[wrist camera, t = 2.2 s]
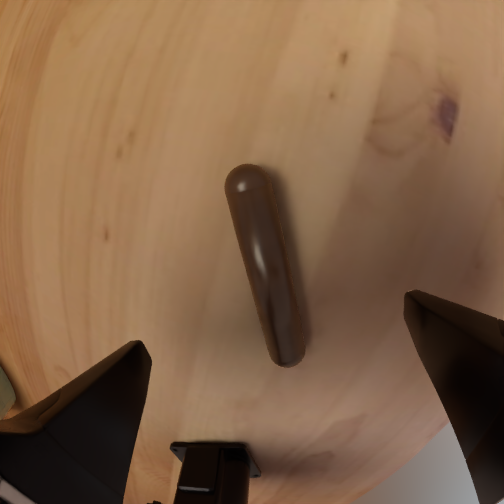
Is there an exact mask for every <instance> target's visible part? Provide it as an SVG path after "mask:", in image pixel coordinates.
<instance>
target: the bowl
mask: <svg viewBox="0 0 504 504" xmlns="http://www.w3.org/2000/svg"><path fill="white" fill-rule="evenodd" d="M15 401H16V396H15V393H14V390H13V388H12V386H11V384H10V381H9V380H8V378H7V376H6V374H5V373H4V371H3V369H2V368H1V366H0V420H3V419H4V418H5V416H6V415H7V414H8V412H9V411H10V409H11V408H12V407H13V404H14V403H15Z"/></svg>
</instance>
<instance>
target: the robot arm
mask: <svg viewBox="0 0 504 504" xmlns="http://www.w3.org/2000/svg"><path fill="white" fill-rule="evenodd" d="M404 319H405V322H406V325H407V327H408V329H409V332H410V334H411V337H412V339H413V342H414V345H415V347H416V350H417V352H418V355H419V357H420V359H421V361H422V363H423V365H424V367H425V369H426V371H427V373H428V375H429V377H430V379H431V381H432V383H433V385H434V387H435V389H436V391H437V393H438V395H439V398H440V400H441V402H442V404H443V406H444V409H445V411H446V413H447V415H448V418H449V420H450V422H451V424H452V427H453V429H454V432H455V434H456V436H457V439H458V442H459V444H460V447H461V449H462V452H463V454H464V457H465V459H466V463H467V466H468V469H469V472H470V474H471V477H472V480H473V483H474V486H475V490H476V493H477V496H478V500H479V503H480V504H497V503H499V502H500V501H502V500H503V499H504V321H503V320H500V319H497V318H495V317H492V316H489V315H487V314H484V313H481V312H478V311H476V310H473V309H470V308H467V307H465V306H462V305H459V304H456V303H453V302H451V301H448V300H445V299H442V298H439V297H437V296H434V295H431V294H428V293H425V292H422V291H420V290H412V291H409V292H406V293H405V296H404ZM151 366H152V359H151V357H150V355H149V353H148V351H147V349H146V347H145V345H144V344H143V342H142V341H140V340H135V341H130V342H128V343H127V344H125V345H124V346H122V347H121V348H119V349H118V350H116V351H115V352H114V353H112V354H111V355H109V356H108V357H106V358H105V359H103V360H102V361H100V362H99V363H97V364H96V365H94V366H93V367H91V368H90V369H88V370H87V371H85V372H84V373H83V374H81V375H80V376H78V377H77V378H75V379H74V380H72V381H71V382H69V383H68V384H66V385H65V386H63V387H62V389H61V388H60V389H59V390H57V391H56V392H54V393H53V394H51V395H50V396H48V397H47V398H45V399H43V400H42V401H40V402H38V403H37V404H35V405H33V406H32V407H30V408H28V409H26V410H25V411H23V412H21V413H19V414H18V415H16V416H14V417H12V418H10V419H6V420H0V504H123V499H124V497H123V496H124V493H125V488H126V482H127V478H128V473H129V468H130V463H131V459H132V454H133V450H134V446H135V441H136V437H137V433H138V429H139V425H140V421H141V417H142V413H143V409H144V405H145V401H146V397H147V391H148V385H149V378H150V372H151ZM170 450H171V451H172V452H173V453H174V454H175V455H176V456H177V457H178V458H179V460H180V461H181V462H182V466H181V471H180V475H179V479H178V483H177V490H176V494H175V498H174V503H173V504H248V494H249V481H250V478H257V477H261V470H260V469H259V467H258V465H257V464H256V462H255V460H254V459H253V457H252V455H251V453H250V452H249V450H248V448H247V446H246V445H244V444H240V443H237V444H179V443H172V444H171V445H170ZM147 504H161V502H158V501H153V503H147Z"/></svg>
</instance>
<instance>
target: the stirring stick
mask: <svg viewBox="0 0 504 504" xmlns="http://www.w3.org/2000/svg"><path fill="white" fill-rule="evenodd" d="M225 194H226V197H227V201H228V205H229V209H230V212H231V216H232V220H233V224H234V227H235V231H236V235H237V239H238V242H239V246H240V250H241V253H242V257H243V261H244V264H245V268H246V272H247V275H248V279H249V283H250V286H251V290H252V294H253V297H254V301H255V305H256V308H257V312H258V315H259V319H260V323H261V326H262V330H263V333H264V337H265V341H266V344H267V348H268V351H269V355H270V357H271V359H272V361H273V362H274V363H275V364H277V365H278V366H280V367H284V368H289V367H293V366H296V365H297V364H298V363H300V362H301V361H302V359H303V357H304V355H305V343H304V338H303V332H302V327H301V321H300V316H299V311H298V306H297V300H296V295H295V290H294V285H293V280H292V275H291V270H290V266H289V261H288V256H287V251H286V246H285V242H284V237H283V232H282V228H281V223H280V219H279V214H278V210H277V205H276V201H275V197H274V192H273V188H272V184H271V180H270V177H269V176H268V174H267V173H266V172H265V170H263V169H262V168H261V167H259V166H257V165H253V164H242V165H240V166H237V167H236V168H234V169H233V170H232V171H231V172H230V173H229V174H228V176H227V178H226V181H225Z"/></svg>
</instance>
